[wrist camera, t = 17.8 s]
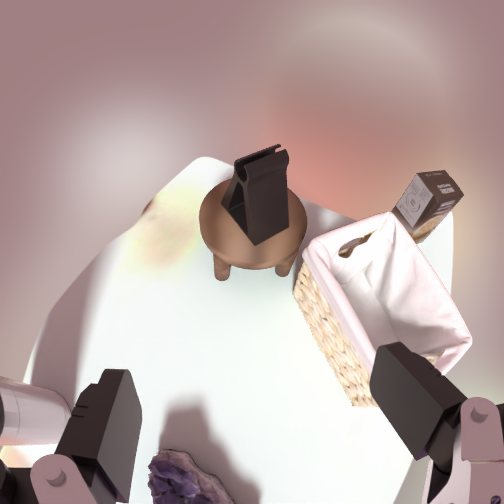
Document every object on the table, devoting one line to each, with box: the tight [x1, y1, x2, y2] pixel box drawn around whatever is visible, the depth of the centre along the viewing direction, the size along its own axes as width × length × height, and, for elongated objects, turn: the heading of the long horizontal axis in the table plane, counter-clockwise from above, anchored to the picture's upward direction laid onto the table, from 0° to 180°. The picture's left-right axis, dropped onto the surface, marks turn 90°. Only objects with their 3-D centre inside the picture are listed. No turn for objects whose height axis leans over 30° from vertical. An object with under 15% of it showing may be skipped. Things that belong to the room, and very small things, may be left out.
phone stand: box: [221, 144, 289, 246], centre depth 39 cm, size 9×6×12 cm, turn 34°
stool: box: [199, 179, 307, 281], centre depth 48 cm, size 16×16×9 cm
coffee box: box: [391, 170, 464, 244], centre depth 49 cm, size 9×6×16 cm
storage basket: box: [293, 211, 472, 408], centre depth 39 cm, size 24×16×15 cm
